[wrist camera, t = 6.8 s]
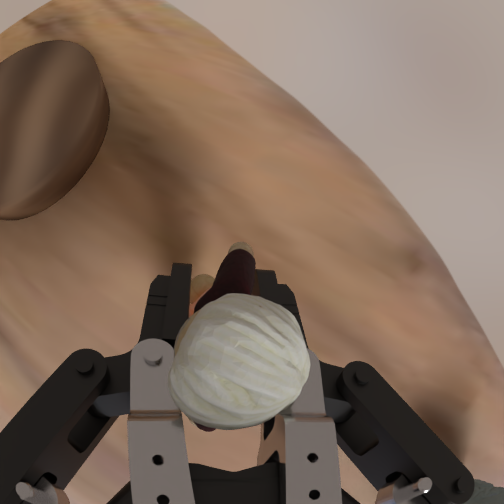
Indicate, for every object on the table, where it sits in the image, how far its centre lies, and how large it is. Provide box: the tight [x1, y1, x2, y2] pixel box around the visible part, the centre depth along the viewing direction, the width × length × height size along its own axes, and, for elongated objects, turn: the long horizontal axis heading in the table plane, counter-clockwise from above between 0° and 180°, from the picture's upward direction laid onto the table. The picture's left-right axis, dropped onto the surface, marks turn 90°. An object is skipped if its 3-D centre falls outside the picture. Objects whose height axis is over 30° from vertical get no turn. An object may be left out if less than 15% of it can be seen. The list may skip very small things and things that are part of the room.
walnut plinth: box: [0, 40, 110, 220], centre depth 19 cm, size 16×16×4 cm
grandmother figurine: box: [167, 242, 311, 432], centre depth 11 cm, size 8×4×13 cm, turn 178°
